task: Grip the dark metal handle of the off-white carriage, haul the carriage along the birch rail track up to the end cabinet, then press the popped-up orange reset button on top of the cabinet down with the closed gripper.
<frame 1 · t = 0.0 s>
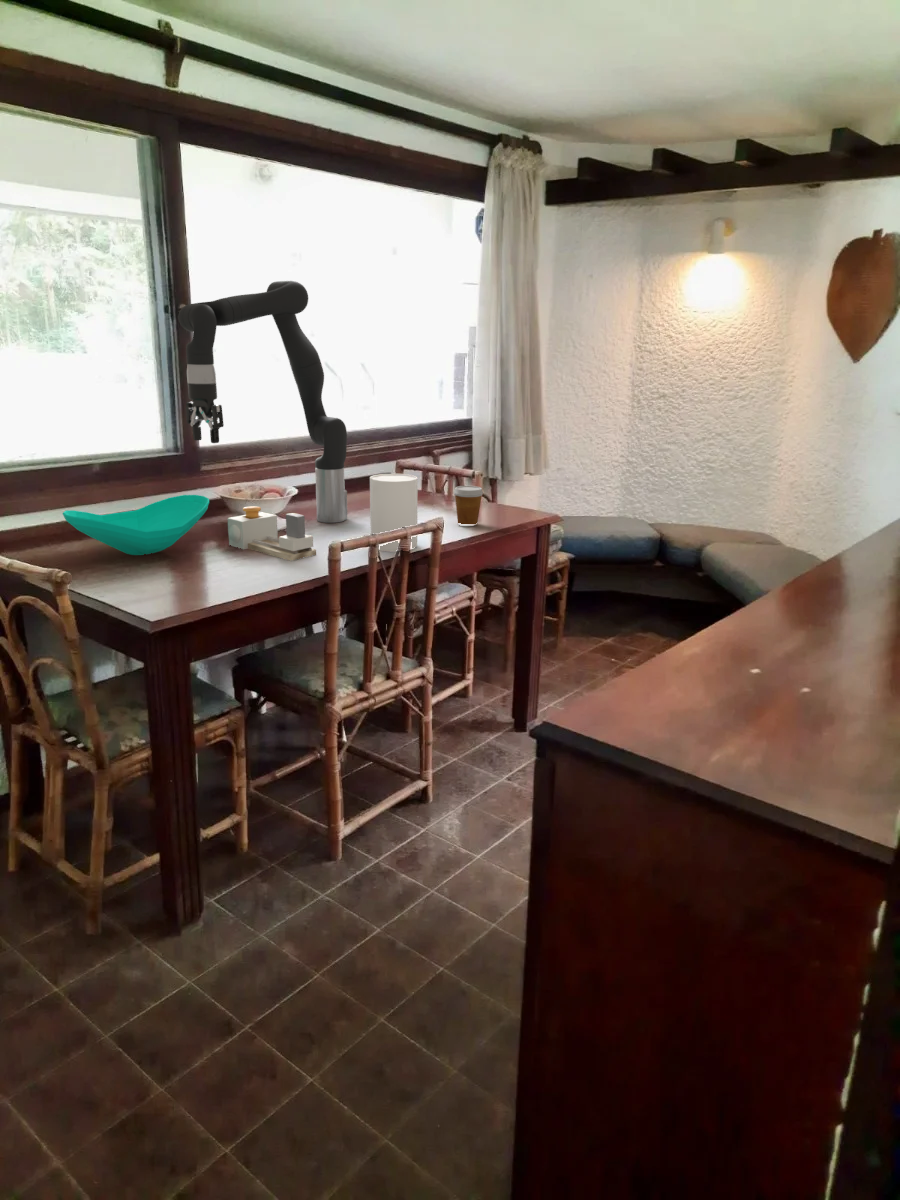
hand: (206, 441, 232), 29 cm above the table, tool pointing down, fingers open, 8 cm apart
carriage: (295, 531, 227), point 7 cm above the table, slide at 0.0 cm
table top decor: (143, 552, 231), on the table
disposable coffee cup: (467, 525, 271), on the table
canister: (394, 546, 242), on the table
end cabinet: (253, 543, 242), on the table
rail track: (281, 551, 234), on the table
reset button: (252, 514, 239), point 9 cm above the table, slide at 0.0 cm
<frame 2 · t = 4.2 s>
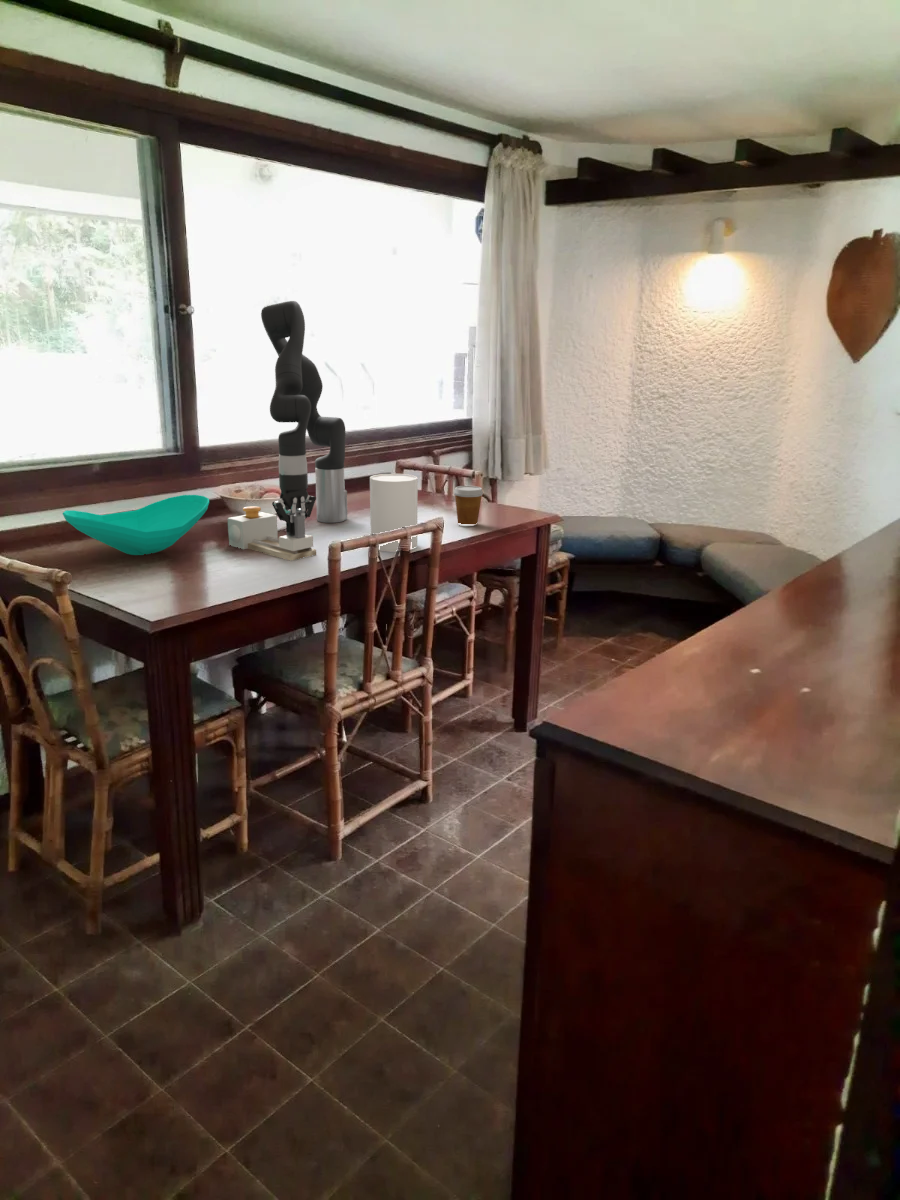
hand: (295, 534, 228), 6 cm above the table, tool pointing down, fingers closed on carriage, 2 cm apart
carriage: (295, 531, 227), point 7 cm above the table, slide at 0.0 cm, touching gripper
everything else where it was.
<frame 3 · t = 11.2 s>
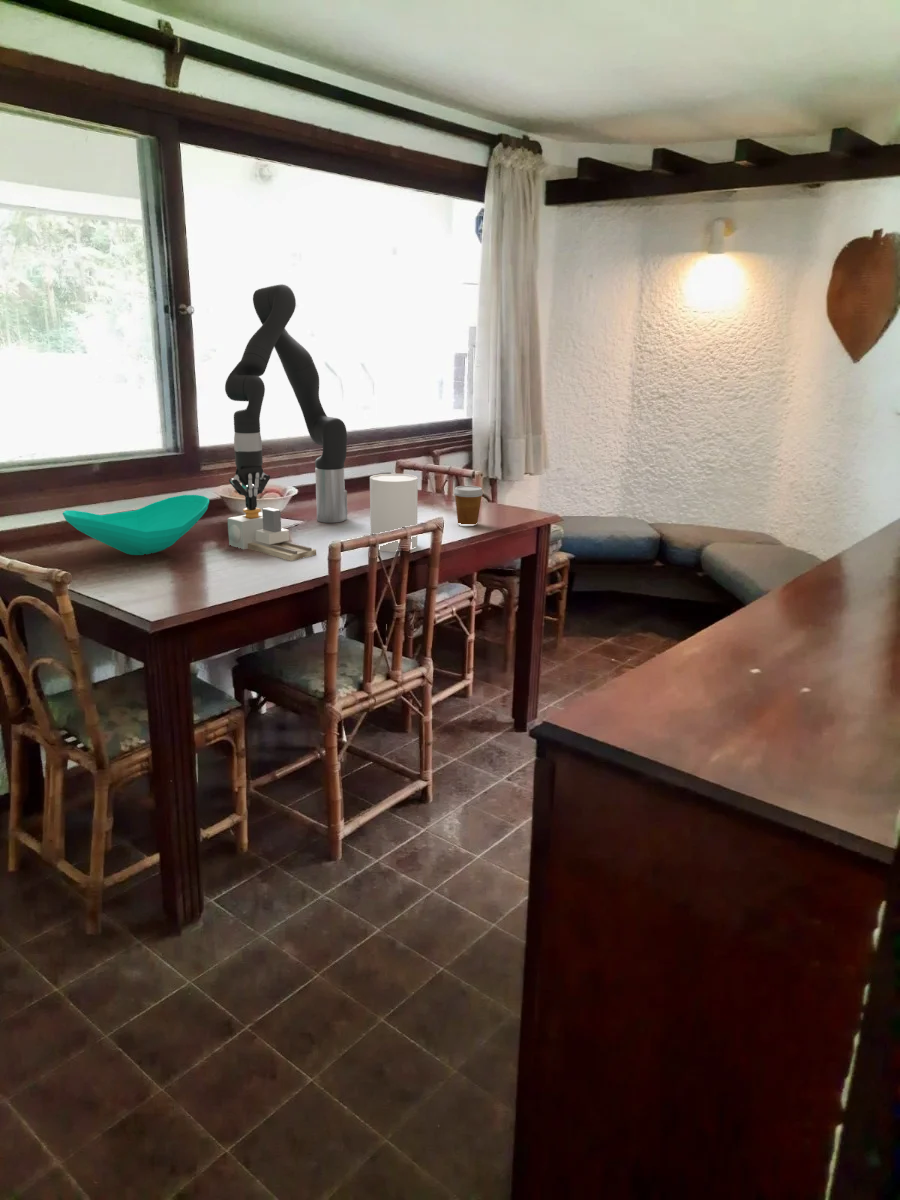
hand: (251, 509, 239), 10 cm above the table, tool pointing down, fingers closed
carriage: (272, 525, 234), point 7 cm above the table, slide at 10.4 cm
reset button: (252, 515, 239), point 8 cm above the table, slide at 0.4 cm, touching gripper
everything else where it was.
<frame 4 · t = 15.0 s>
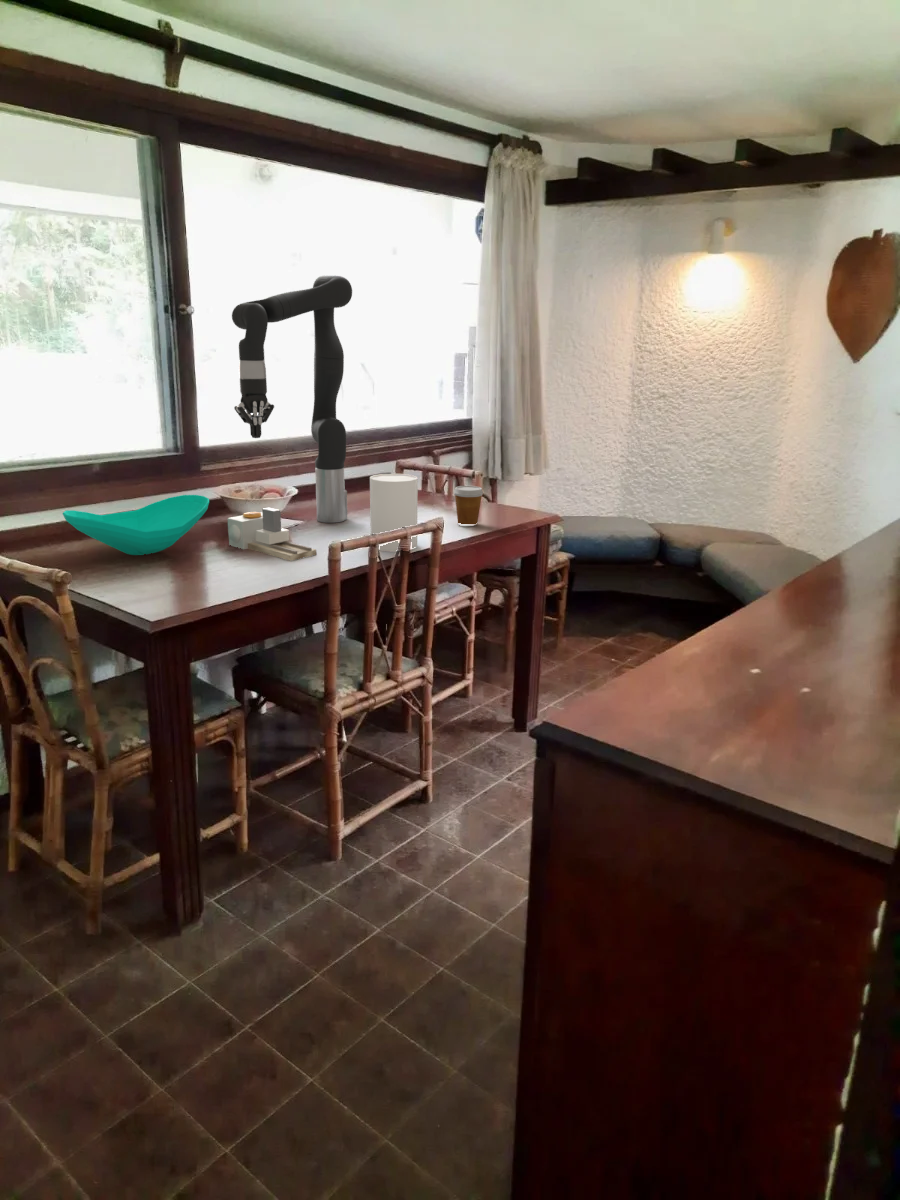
hand: (256, 437, 245), 29 cm above the table, tool pointing down, fingers closed
reset button: (252, 519, 240), point 7 cm above the table, slide at 1.6 cm
everything else where it was.
at the end: carriage slide at 10.4 cm; reset button slide at 1.6 cm; the gripper is holding nothing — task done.
